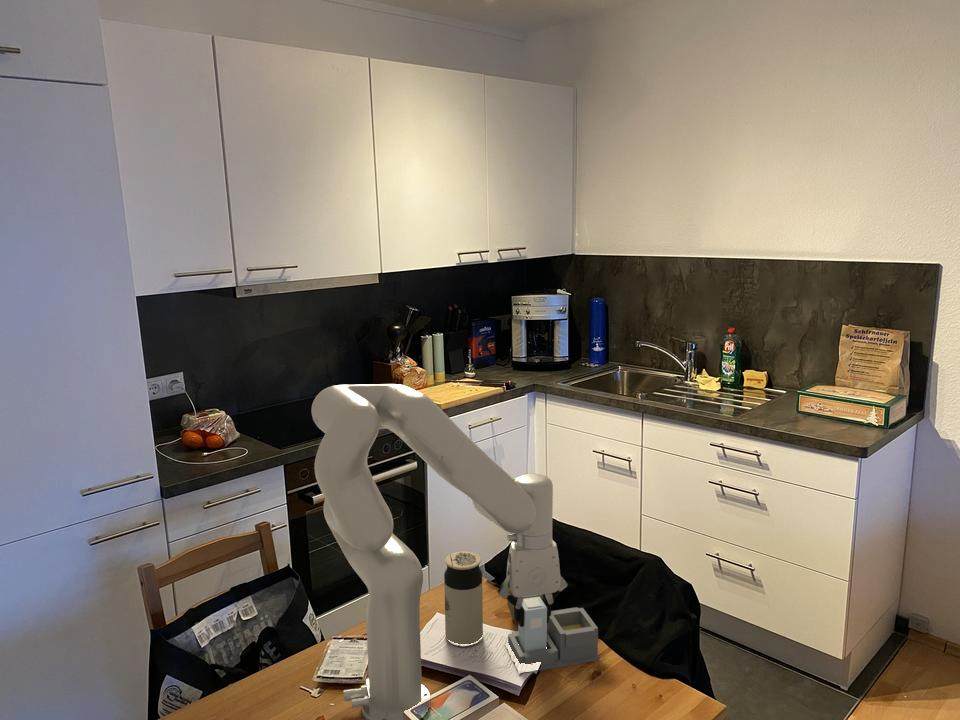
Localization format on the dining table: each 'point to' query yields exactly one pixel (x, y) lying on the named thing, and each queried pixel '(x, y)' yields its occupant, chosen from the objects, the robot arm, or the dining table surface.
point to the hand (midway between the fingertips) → (532, 620)
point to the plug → (533, 626)
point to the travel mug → (463, 598)
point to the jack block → (563, 641)
